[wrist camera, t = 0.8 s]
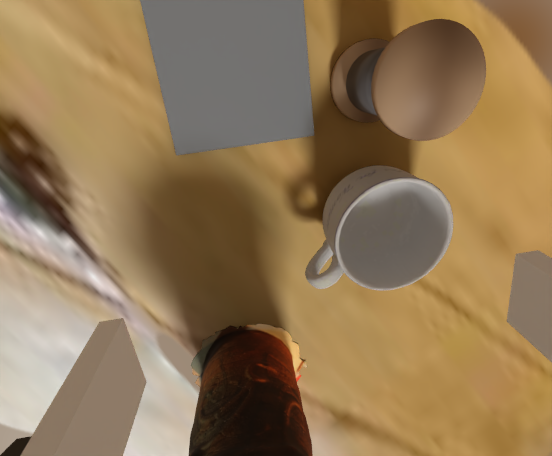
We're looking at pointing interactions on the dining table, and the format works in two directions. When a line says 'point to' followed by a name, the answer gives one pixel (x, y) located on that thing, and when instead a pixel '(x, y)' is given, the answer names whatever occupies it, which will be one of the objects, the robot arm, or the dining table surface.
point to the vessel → (249, 395)
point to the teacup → (382, 230)
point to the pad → (231, 71)
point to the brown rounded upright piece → (412, 79)
